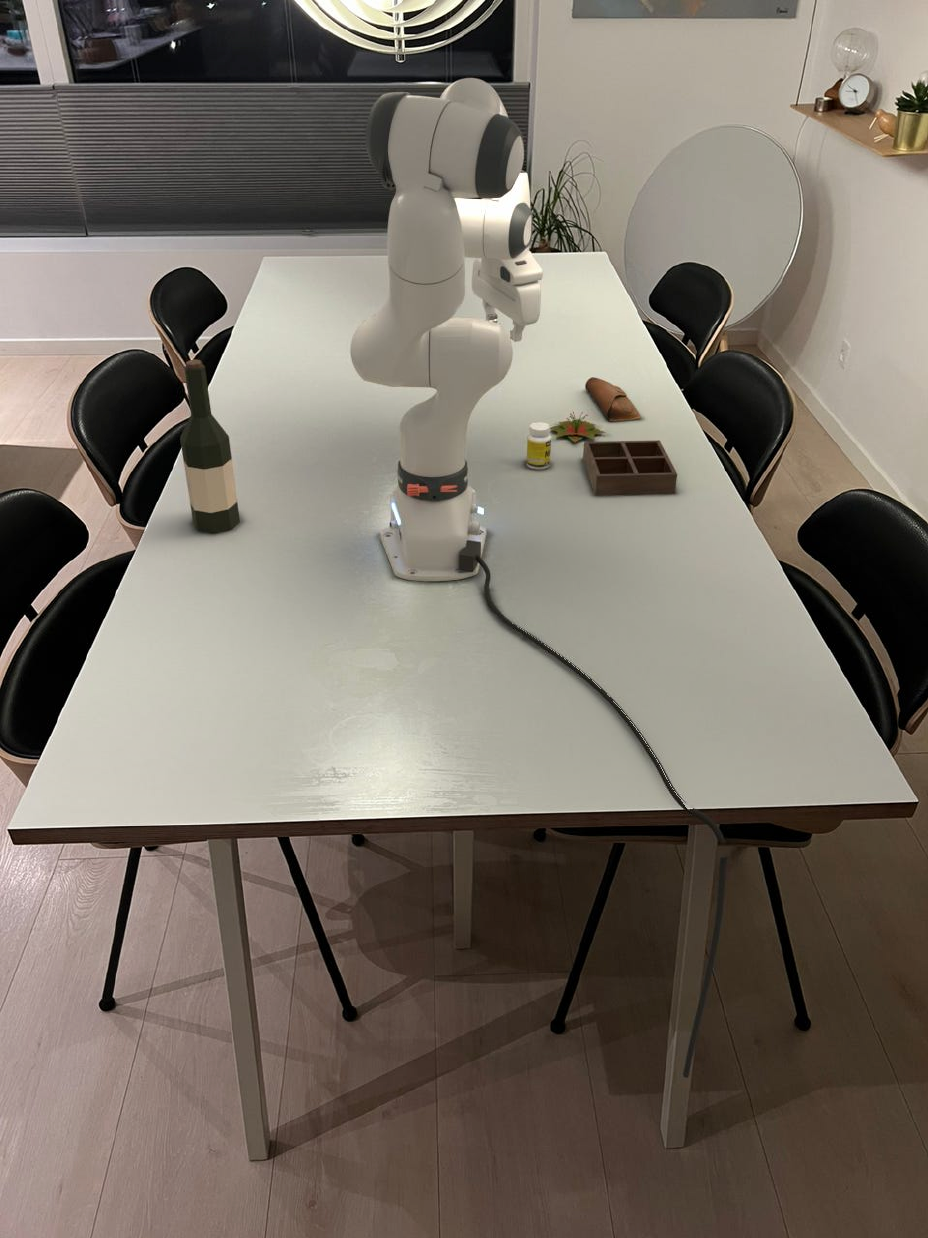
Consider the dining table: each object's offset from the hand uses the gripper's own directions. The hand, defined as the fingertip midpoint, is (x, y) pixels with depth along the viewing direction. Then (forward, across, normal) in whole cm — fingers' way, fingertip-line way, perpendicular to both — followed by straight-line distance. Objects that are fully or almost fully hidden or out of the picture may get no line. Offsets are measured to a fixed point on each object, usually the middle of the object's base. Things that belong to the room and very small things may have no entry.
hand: (503, 331), depth 201 cm
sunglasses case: (+27, -8, +33) cm, 44 cm away
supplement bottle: (+25, +11, +2) cm, 27 cm away
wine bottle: (+22, +5, -62) cm, 66 cm away
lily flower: (+26, +1, +18) cm, 31 cm away
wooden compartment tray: (+24, +23, +15) cm, 37 cm away
